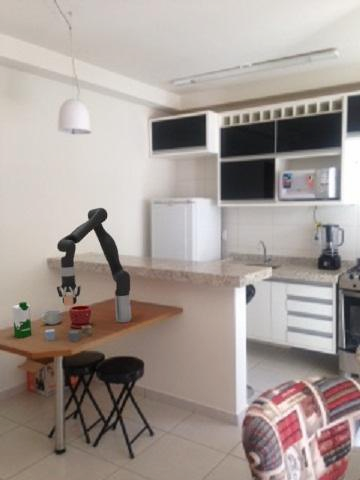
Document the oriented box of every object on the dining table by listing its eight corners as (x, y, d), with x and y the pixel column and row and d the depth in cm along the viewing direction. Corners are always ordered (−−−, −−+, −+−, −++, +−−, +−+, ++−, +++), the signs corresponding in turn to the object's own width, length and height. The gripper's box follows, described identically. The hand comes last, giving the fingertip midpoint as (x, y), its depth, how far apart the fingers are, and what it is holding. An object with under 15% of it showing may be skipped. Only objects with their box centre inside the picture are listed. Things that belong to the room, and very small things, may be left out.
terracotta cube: (75, 303, 248) (74, 294, 247) (72, 305, 243) (72, 296, 242) (66, 303, 248) (66, 295, 247) (64, 305, 243) (63, 297, 242)
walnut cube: (91, 333, 251) (91, 325, 251) (91, 336, 247) (90, 327, 246) (83, 334, 251) (82, 325, 250) (82, 336, 246) (81, 328, 245)
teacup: (58, 320, 282) (57, 308, 282) (65, 323, 274) (64, 311, 273) (37, 324, 274) (36, 312, 273) (43, 328, 265) (43, 315, 265)
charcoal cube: (81, 339, 242) (80, 330, 241) (76, 342, 237) (76, 333, 236) (73, 338, 243) (73, 330, 243) (68, 341, 238) (68, 332, 238)
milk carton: (20, 339, 245) (17, 305, 243) (12, 336, 251) (9, 302, 249) (33, 335, 252) (31, 301, 250) (25, 332, 258) (23, 299, 256)
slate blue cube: (55, 337, 247) (54, 328, 246) (55, 339, 242) (54, 331, 242) (46, 338, 245) (45, 329, 245) (46, 341, 240) (45, 332, 240)
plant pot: (80, 330, 258) (79, 311, 257) (65, 327, 265) (64, 308, 264) (96, 324, 269) (95, 306, 268) (81, 322, 276) (80, 304, 275)
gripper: (82, 273, 247) (83, 301, 249) (57, 273, 248) (59, 302, 249) (78, 275, 240) (80, 305, 241) (53, 276, 240) (55, 305, 242)
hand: (69, 303), depth 245 cm, fingers closed on terracotta cube, 5 cm apart
